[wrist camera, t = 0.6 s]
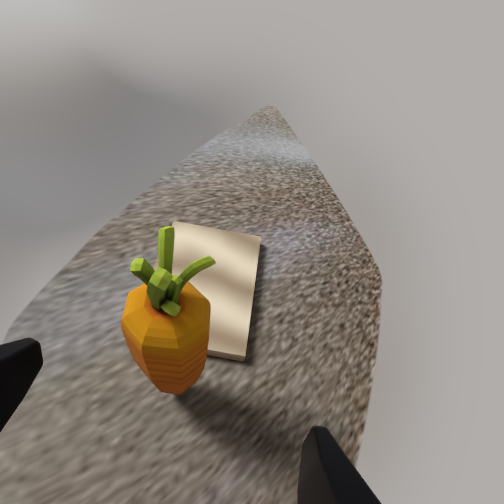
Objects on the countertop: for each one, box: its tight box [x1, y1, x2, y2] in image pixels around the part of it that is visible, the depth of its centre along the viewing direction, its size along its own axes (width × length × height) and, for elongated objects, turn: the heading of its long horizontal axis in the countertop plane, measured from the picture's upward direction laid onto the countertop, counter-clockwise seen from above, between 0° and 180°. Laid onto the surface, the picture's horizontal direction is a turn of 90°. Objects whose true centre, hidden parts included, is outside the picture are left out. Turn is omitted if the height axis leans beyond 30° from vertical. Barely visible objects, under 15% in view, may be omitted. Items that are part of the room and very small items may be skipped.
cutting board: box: [153, 221, 261, 362], centre depth 31 cm, size 15×10×1 cm, turn 175°
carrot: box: [121, 226, 216, 394], centre depth 18 cm, size 5×5×15 cm
